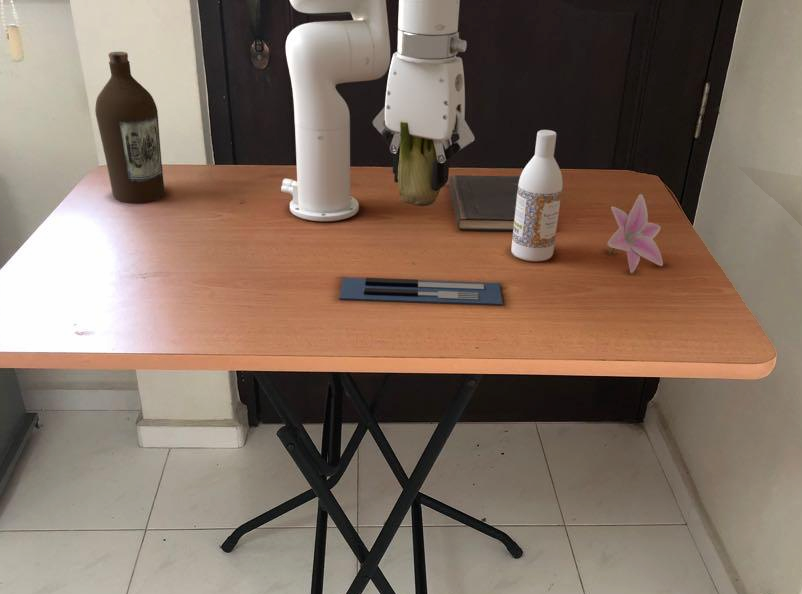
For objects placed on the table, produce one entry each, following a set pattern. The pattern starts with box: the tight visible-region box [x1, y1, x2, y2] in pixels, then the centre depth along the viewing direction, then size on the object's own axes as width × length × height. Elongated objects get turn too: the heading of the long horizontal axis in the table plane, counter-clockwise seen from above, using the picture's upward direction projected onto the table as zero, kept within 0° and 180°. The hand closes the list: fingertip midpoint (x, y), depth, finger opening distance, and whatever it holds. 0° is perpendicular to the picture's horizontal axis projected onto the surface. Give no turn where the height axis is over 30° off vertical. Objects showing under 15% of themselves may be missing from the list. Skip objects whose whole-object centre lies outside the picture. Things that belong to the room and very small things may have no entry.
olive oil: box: [94, 51, 165, 204], centre depth 149 cm, size 11×11×25 cm
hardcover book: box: [448, 174, 521, 233], centre depth 155 cm, size 16×23×2 cm
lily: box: [607, 193, 664, 274], centre depth 135 cm, size 12×12×10 cm
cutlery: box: [364, 277, 484, 300], centre depth 125 cm, size 18×5×1 cm, turn 88°
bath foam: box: [510, 129, 564, 262], centre depth 132 cm, size 7×7×20 cm
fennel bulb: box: [397, 121, 441, 207], centre depth 114 cm, size 6×5×12 cm
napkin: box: [339, 277, 503, 306], centre depth 125 cm, size 24×7×1 cm, turn 88°
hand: (419, 182), depth 116 cm, fingers closed on fennel bulb, 5 cm apart
